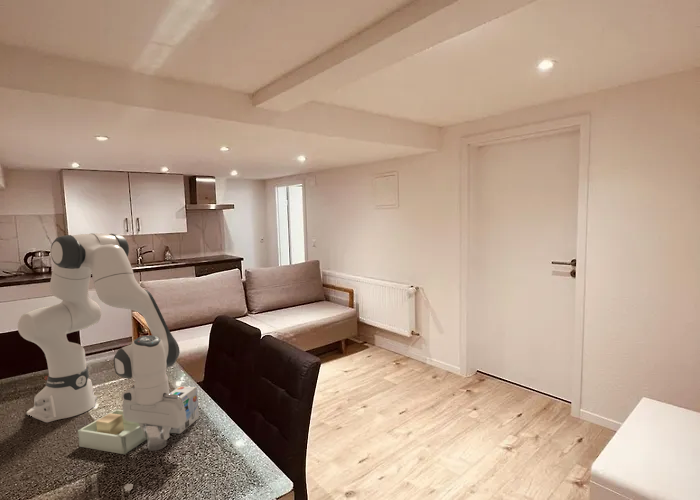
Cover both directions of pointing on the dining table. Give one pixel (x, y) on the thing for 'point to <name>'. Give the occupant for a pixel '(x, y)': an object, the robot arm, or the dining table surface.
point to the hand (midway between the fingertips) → (156, 437)
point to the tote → (112, 437)
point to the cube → (110, 424)
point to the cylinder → (155, 437)
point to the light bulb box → (187, 406)
